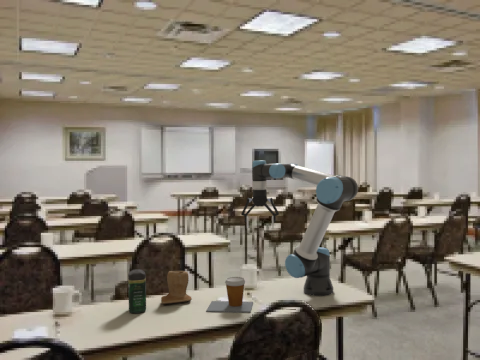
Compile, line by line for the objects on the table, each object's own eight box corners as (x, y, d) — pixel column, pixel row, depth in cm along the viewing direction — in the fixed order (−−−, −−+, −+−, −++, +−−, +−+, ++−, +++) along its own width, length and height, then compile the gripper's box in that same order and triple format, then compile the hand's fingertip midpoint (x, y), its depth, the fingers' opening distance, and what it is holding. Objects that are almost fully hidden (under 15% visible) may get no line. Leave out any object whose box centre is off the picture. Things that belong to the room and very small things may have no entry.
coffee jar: (147, 313, 195) (146, 272, 195) (128, 314, 193) (127, 273, 193) (146, 306, 205) (145, 267, 204) (128, 308, 203) (127, 268, 202)
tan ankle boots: (188, 296, 219) (187, 267, 219) (193, 303, 208) (192, 272, 207) (158, 299, 214) (157, 269, 214) (161, 307, 203) (160, 275, 203)
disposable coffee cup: (246, 307, 199) (245, 281, 198) (225, 308, 198) (225, 282, 198) (244, 300, 208) (244, 276, 208) (225, 301, 207) (224, 276, 207)
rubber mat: (253, 302, 207) (253, 301, 207) (250, 312, 193) (250, 311, 193) (211, 302, 209) (211, 300, 209) (206, 311, 195) (206, 310, 195)
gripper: (283, 188, 235) (283, 227, 236) (237, 189, 238) (238, 227, 239) (282, 189, 228) (283, 229, 228) (235, 189, 230) (236, 229, 231)
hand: (260, 228), depth 233 cm, fingers open, 13 cm apart
